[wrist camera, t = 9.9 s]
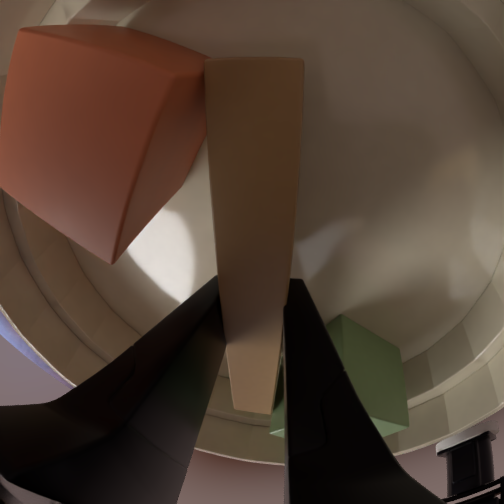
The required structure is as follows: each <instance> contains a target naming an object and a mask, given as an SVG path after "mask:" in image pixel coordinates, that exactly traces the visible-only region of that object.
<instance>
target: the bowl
mask: <svg viewBox="0 0 504 504" xmlns="http://www.w3.org/2000/svg"><path fill="white" fill-rule="evenodd" d="M66 24H86V25H109V26H122V27H127V28H131V29H134V30H138V31H141V32H144V33H147V34H150V35H154V36H157V37H159V38H162V39H165V40H168V41H171V42H174V43H176V44H179V45H182V46H184V47H187V48H189V49H192V50H194V51H197V52H199V53H201V54H204V55H206V56H208V57H211V58H227V57H290V58H301V59H303V60H304V64H305V78H304V105H303V126H302V144H301V160H300V175H299V189H298V201H297V213H296V225H295V236H294V246H293V256H292V266H291V275H290V278H300V279H303V281H304V282H305V285H306V287H307V289H308V291H309V293H310V295H311V297H312V299H313V301H314V303H315V305H316V307H317V309H318V311H319V313H320V316H321V318H322V320H323V322H324V324H325V325H327V324H328V323H330V322H331V321H332V320H334V319H335V318H336V317H338V316H339V315H340V314H343V315H344V316H346V317H348V318H349V319H351V320H353V321H354V322H356V323H358V324H359V325H361V326H363V327H364V328H366V329H367V330H369V331H371V332H373V333H374V334H376V335H378V336H379V337H381V338H383V339H384V340H386V341H388V342H389V343H391V344H393V345H394V346H396V347H398V348H399V349H400V353H401V359H402V366H403V372H404V379H405V387H406V395H407V404H408V414H409V427H408V428H406V429H403V430H401V431H398V432H396V433H393V434H390V435H387V436H385V437H383V439H384V441H385V442H386V444H387V445H388V447H389V449H390V450H391V452H392V454H393V455H394V456H396V455H401V454H404V453H407V452H411V451H414V450H417V449H420V448H422V447H426V446H428V445H431V444H433V443H436V442H439V441H442V440H444V439H447V438H449V437H452V436H453V435H456V434H458V433H460V432H462V431H464V430H466V429H468V428H470V427H472V426H473V425H475V424H477V423H479V422H480V421H482V420H484V419H485V418H487V417H489V416H491V415H492V414H494V413H495V412H497V411H498V410H500V409H502V408H503V407H504V0H0V126H1V115H2V106H3V98H4V91H5V85H6V79H7V74H8V69H9V64H10V60H11V56H12V52H13V48H14V44H15V40H16V37H17V33H18V31H19V29H21V28H23V27H32V26H44V25H66ZM215 275H217V265H216V255H215V244H214V232H213V221H212V208H211V195H210V181H209V166H208V150H207V135H206V137H205V139H204V141H203V143H202V145H201V147H200V149H199V151H198V153H197V155H196V157H195V159H194V162H193V164H192V166H191V168H190V170H189V172H188V174H187V177H186V179H185V181H184V183H183V185H182V187H181V188H180V189H179V190H178V191H177V192H176V193H175V195H174V196H173V197H172V198H171V199H170V200H169V201H168V202H167V203H166V204H165V205H164V206H163V207H162V209H161V210H160V211H159V212H158V213H157V214H156V215H155V216H154V217H153V219H152V220H151V221H150V222H149V223H148V224H147V225H146V227H145V228H144V229H143V230H142V231H141V232H140V233H139V235H138V236H137V237H136V238H135V239H134V240H133V242H132V243H131V244H130V245H129V246H128V248H127V249H126V250H125V251H124V252H123V254H122V255H121V256H120V257H119V259H118V260H117V261H116V262H115V263H114V264H113V265H110V264H108V263H107V262H105V261H104V260H102V259H100V258H99V257H97V256H96V255H94V254H93V253H91V252H89V251H88V250H86V249H85V248H83V247H82V246H80V245H79V244H77V243H76V242H74V241H73V240H71V239H70V238H68V237H67V236H65V235H64V234H62V233H61V232H59V231H58V230H57V229H55V228H54V227H52V226H51V225H49V224H48V223H47V222H45V221H44V220H42V219H41V218H40V217H38V216H37V215H36V214H34V213H33V212H31V211H30V210H29V209H27V208H26V207H25V206H23V205H22V204H21V203H19V202H18V201H17V200H16V199H14V198H13V197H12V196H10V195H9V194H8V193H7V192H5V191H4V190H3V189H2V188H1V187H0V310H1V312H2V313H3V315H4V316H5V317H6V319H7V320H8V321H9V323H10V324H11V325H12V327H13V328H14V329H15V331H16V332H17V333H18V334H19V335H20V337H21V338H22V339H23V340H24V341H25V342H26V343H27V344H28V345H29V346H30V348H31V349H32V350H33V351H34V352H35V353H36V354H37V355H38V356H39V357H40V358H41V359H42V360H43V361H44V362H45V363H46V364H47V365H48V366H50V367H51V368H52V369H53V370H54V371H55V372H56V373H57V374H59V376H61V377H62V378H63V379H64V380H66V381H67V382H68V383H69V384H71V385H72V386H73V387H76V386H78V385H79V384H81V383H82V382H84V381H85V380H87V379H88V378H90V377H91V376H93V375H94V374H95V373H97V372H98V371H100V370H101V369H102V368H104V367H105V366H107V365H108V364H109V363H111V362H112V361H113V360H114V359H116V358H117V357H118V356H119V355H121V354H122V353H123V352H124V351H125V350H127V349H128V348H129V347H130V346H133V344H134V343H135V342H136V341H137V340H139V339H140V338H141V337H142V336H143V335H145V334H146V333H147V332H148V331H149V330H151V329H152V328H153V327H154V326H155V325H156V324H158V323H159V322H160V321H161V320H162V319H164V318H165V317H166V316H167V315H168V314H170V313H171V312H172V311H173V310H174V309H176V308H177V307H178V306H179V305H180V304H182V303H183V302H184V301H185V300H186V299H188V298H189V297H190V296H191V295H192V294H194V293H195V292H196V291H197V290H198V289H200V288H201V287H202V286H203V285H204V284H206V283H207V282H208V281H209V280H210V279H212V278H213V277H214V276H215ZM282 355H283V341H282V349H281V356H282ZM281 356H280V361H281ZM279 368H280V363H279ZM278 375H279V370H278ZM277 382H278V377H277ZM276 388H277V383H276ZM275 394H276V390H275ZM274 401H275V396H274ZM273 407H274V402H273ZM272 413H273V408H272ZM271 419H272V414H270V415H269V414H262V413H255V412H249V411H242V410H236V409H234V405H233V398H232V391H231V384H230V377H229V369H228V362H227V354H226V349H225V353H224V356H223V359H222V363H221V366H220V369H219V372H218V375H217V378H216V382H215V385H214V388H213V391H212V394H211V397H210V400H209V404H208V407H207V410H206V413H205V416H204V419H203V422H202V426H201V429H200V432H199V435H198V438H197V441H196V444H195V447H194V449H197V450H200V451H203V452H207V453H211V454H215V455H220V456H224V457H228V458H233V459H237V460H243V461H248V462H255V463H264V464H274V465H284V461H285V438H282V437H279V436H275V435H272V434H270V433H269V431H270V425H271Z"/></svg>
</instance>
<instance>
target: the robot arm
mask: <svg viewBox="0 0 504 504" xmlns="http://www.w3.org/2000/svg"><path fill="white" fill-rule="evenodd" d="M226 345H227V342H226V338H225V334H224V329H223V321H222V312H221V304H220V294H219V285H218V275H215V276H214V277H213V278H212V279H210V280H209V281H208V282H207V283H206V284H204V285H203V286H202V287H201V288H200V289H198V290H197V291H196V292H195V293H194V294H192V295H191V296H190V297H189V298H188V299H186V300H185V301H184V302H183V303H182V304H180V305H179V306H178V307H177V308H176V309H174V310H173V311H172V312H171V313H170V314H168V315H167V316H166V317H165V318H164V319H162V320H161V321H160V322H159V323H158V324H156V325H155V326H154V327H153V328H152V329H151V330H149V331H148V332H147V333H146V334H145V335H143V336H142V337H141V338H140V339H139V340H137V341H136V342H135V343H134V344H133V346H130V347H129V348H128V349H127V350H125V351H124V352H123V353H122V354H121V355H119V356H118V357H117V358H116V359H114V360H113V361H112V362H111V363H109V364H108V365H107V366H105V367H104V368H102V369H101V370H100V371H98V372H97V373H95V374H94V375H93V376H91V377H90V378H88V379H87V380H85V381H84V382H82V383H81V384H79V385H78V386H76V387H75V388H74V389H72V390H71V391H69V392H68V393H66V394H65V395H63V396H62V397H60V398H58V399H56V400H53V401H51V402H48V403H42V404H30V405H14V406H0V504H177V500H178V497H179V494H180V491H181V488H182V485H183V482H184V479H185V476H186V473H187V468H188V466H189V463H190V460H191V456H192V454H193V450H194V447H195V444H196V441H197V438H198V435H199V432H200V429H201V426H202V422H203V419H204V416H205V413H206V410H207V407H208V404H209V400H210V397H211V394H212V391H213V388H214V385H215V382H216V378H217V375H218V372H219V369H220V366H221V363H222V359H223V356H224V353H225V349H226ZM283 366H284V435H285V461H284V470H285V471H284V474H285V475H284V504H447V502H450V501H454V500H457V499H460V498H463V497H466V496H469V495H472V494H475V493H477V492H480V491H483V490H485V489H487V488H490V487H493V486H495V485H497V484H500V486H501V487H499V488H497V489H494V490H492V491H490V492H487V493H484V494H482V495H479V496H476V497H474V498H471V499H468V500H465V501H462V502H459V503H456V504H504V476H502V477H501V478H500V479H497V480H495V481H494V465H493V455H492V447H491V441H493V440H495V439H496V435H494V434H493V433H492V432H490V431H486V432H484V433H482V434H480V435H478V436H475V437H473V438H471V439H469V440H466V441H464V442H462V443H459V444H457V445H455V446H452V447H450V448H447V449H444V450H442V451H439V452H437V456H439V457H446V461H447V492H448V493H447V497H449V498H444V499H440V498H438V497H437V496H436V495H434V494H433V493H432V492H430V491H429V490H428V489H426V488H425V487H424V486H422V485H421V484H420V483H418V482H417V481H416V480H415V479H413V478H412V477H411V476H410V475H409V474H408V473H407V472H406V471H405V470H404V469H403V468H402V467H401V466H400V464H399V463H398V461H397V460H396V458H395V457H394V455H393V454H392V452H391V450H390V449H389V447H388V445H387V444H386V442H385V441H384V439H383V437H382V436H381V434H380V432H379V431H378V429H377V428H376V426H375V424H374V423H373V421H372V420H371V418H370V416H369V415H368V413H367V411H366V409H365V408H364V406H363V404H362V402H361V401H360V399H359V397H358V395H357V393H356V391H355V388H354V386H353V384H352V382H351V380H350V378H349V376H348V373H347V371H345V367H344V365H343V363H342V361H341V358H340V356H339V354H338V352H337V350H336V348H335V345H334V343H333V341H332V339H331V337H330V335H329V332H328V330H327V328H326V326H325V324H324V322H323V320H322V318H321V316H320V313H319V311H318V309H317V307H316V305H315V303H314V301H313V299H312V297H311V295H310V293H309V291H308V289H307V287H306V285H305V282H304V281H303V279H300V278H290V282H289V290H288V298H287V304H286V305H285V306H284V307H283ZM492 481H493V482H492ZM485 484H486V485H485ZM499 494H501V498H500V499H499V498H498V497H496V496H497V495H499ZM454 495H455V496H454ZM451 496H452V497H451Z"/></svg>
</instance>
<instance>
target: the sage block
mask: <svg viewBox="0 0 504 504" xmlns="http://www.w3.org/2000/svg"><path fill="white" fill-rule="evenodd" d="M325 326H326V328H327V330H328V332H329V335H330V337H331V339H332V341H333V343H334V345H335V348H336V350H337V352H338V354H339V356H340V358H341V361H342V363H343V365H344V367H345V371H347V373H348V376H349V378H350V380H351V382H352V384H353V386H354V388H355V391H356V393H357V395H358V397H359V399H360V401H361V402H362V404H363V406H364V408H365V409H366V411H367V413H368V415H369V416H370V418H371V420H372V421H373V423H374V424H375V426H376V428H377V429H378V431H379V432H380V434H381V436H382V437H385V436H387V435H390V434H393V433H396V432H398V431H401V430H403V429H406V428H408V427H409V414H408V404H407V395H406V387H405V379H404V372H403V366H402V359H401V353H400V349H399V348H398V347H396V346H394V345H393V344H391V343H389V342H388V341H386V340H384V339H383V338H381V337H379V336H378V335H376V334H374V333H373V332H371V331H369V330H367V329H366V328H364V327H363V326H361V325H359V324H358V323H356V322H354V321H353V320H351V319H349V318H348V317H346V316H344V315H343V314H340V315H339V316H338V317H336V318H335V319H334V320H332V321H331V322H330V323H328V324H327V325H325ZM269 433H270V434H272V435H275V436H279V437H282V438H285V435H284V366H283V355H282V356H281V361H280V368H279V375H278V382H277V388H276V394H275V401H274V407H273V413H272V419H271V425H270V431H269Z"/></svg>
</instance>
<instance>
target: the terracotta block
mask: <svg viewBox="0 0 504 504" xmlns="http://www.w3.org/2000/svg"><path fill="white" fill-rule="evenodd" d="M206 59H212V58H211V57H208V56H206V55H204V54H201V53H199V52H197V51H194V50H192V49H189V48H187V47H184V46H182V45H179V44H176V43H174V42H171V41H168V40H165V39H162V38H159V37H157V36H154V35H150V34H147V33H144V32H141V31H138V30H134V29H131V28H127V27H122V26H109V25H86V24H66V25H44V26H32V27H23V28H21V29H19V31H18V33H17V37H16V40H15V44H14V48H13V52H12V56H11V60H10V64H9V69H8V74H7V79H6V85H5V91H4V98H3V106H2V115H1V126H0V187H1V188H2V189H3V190H4V191H5V192H7V193H8V194H9V195H10V196H12V197H13V198H14V199H16V200H17V201H18V202H19V203H21V204H22V205H23V206H25V207H26V208H27V209H29V210H30V211H31V212H33V213H34V214H36V215H37V216H38V217H40V218H41V219H42V220H44V221H45V222H47V223H48V224H49V225H51V226H52V227H54V228H55V229H57V230H58V231H59V232H61V233H62V234H64V235H65V236H67V237H68V238H70V239H71V240H73V241H74V242H76V243H77V244H79V245H80V246H82V247H83V248H85V249H86V250H88V251H89V252H91V253H93V254H94V255H96V256H97V257H99V258H100V259H102V260H104V261H105V262H107V263H108V264H110V265H113V264H114V263H115V262H116V261H117V260H118V259H119V257H120V256H121V255H122V254H123V252H124V251H125V250H126V249H127V248H128V246H129V245H130V244H131V243H132V242H133V240H134V239H135V238H136V237H137V236H138V235H139V233H140V232H141V231H142V230H143V229H144V228H145V227H146V225H147V224H148V223H149V222H150V221H151V220H152V219H153V217H154V216H155V215H156V214H157V213H158V212H159V211H160V210H161V209H162V207H163V206H164V205H165V204H166V203H167V202H168V201H169V200H170V199H171V198H172V197H173V196H174V195H175V193H176V192H177V191H178V190H179V189H180V188H181V187H182V185H183V183H184V181H185V179H186V177H187V174H188V172H189V170H190V168H191V166H192V164H193V162H194V159H195V157H196V155H197V153H198V151H199V149H200V147H201V145H202V143H203V141H204V139H205V137H206V135H207V132H206V111H205V85H204V60H206Z"/></svg>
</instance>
